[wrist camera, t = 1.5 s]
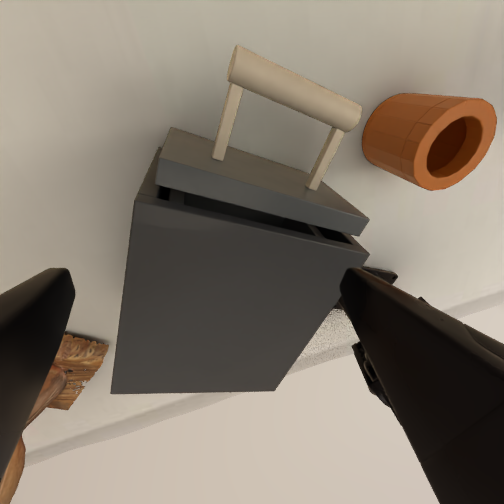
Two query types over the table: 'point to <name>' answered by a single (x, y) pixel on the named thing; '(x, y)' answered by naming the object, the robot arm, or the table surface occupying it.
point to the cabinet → (219, 297)
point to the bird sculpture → (56, 396)
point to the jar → (429, 137)
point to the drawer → (260, 169)
